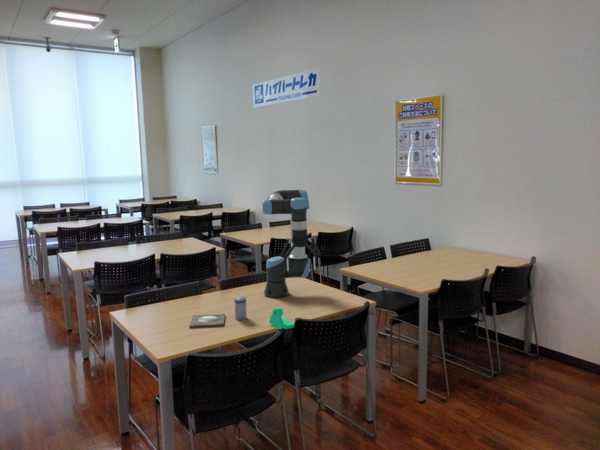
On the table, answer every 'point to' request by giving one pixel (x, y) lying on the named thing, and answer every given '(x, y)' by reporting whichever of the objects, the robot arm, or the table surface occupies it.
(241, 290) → the table surface
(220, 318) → the mounting plate
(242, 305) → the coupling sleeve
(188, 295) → the table surface
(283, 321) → the green toy figure
